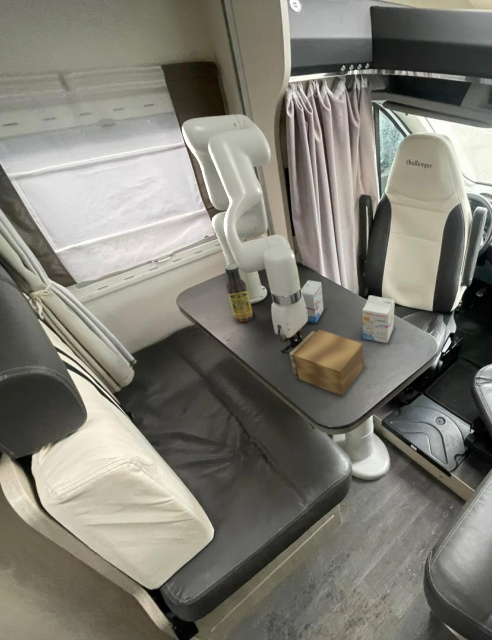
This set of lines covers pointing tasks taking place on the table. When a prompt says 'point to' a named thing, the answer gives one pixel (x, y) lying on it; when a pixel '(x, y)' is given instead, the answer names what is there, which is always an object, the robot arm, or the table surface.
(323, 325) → the table surface
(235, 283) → the sauce bottle
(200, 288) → the table surface
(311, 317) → the ink box
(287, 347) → the drawer
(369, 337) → the ink box
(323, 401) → the table surface
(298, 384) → the table surface
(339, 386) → the cabinet
